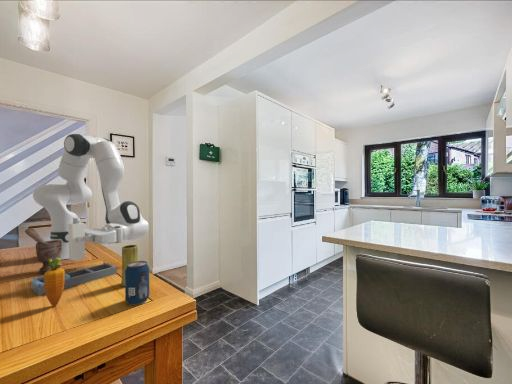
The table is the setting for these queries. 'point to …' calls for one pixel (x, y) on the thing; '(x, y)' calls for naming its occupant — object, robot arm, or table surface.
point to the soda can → (137, 282)
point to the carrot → (54, 282)
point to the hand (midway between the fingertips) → (74, 238)
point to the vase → (128, 258)
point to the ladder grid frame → (77, 277)
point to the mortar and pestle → (45, 250)
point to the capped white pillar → (75, 247)
